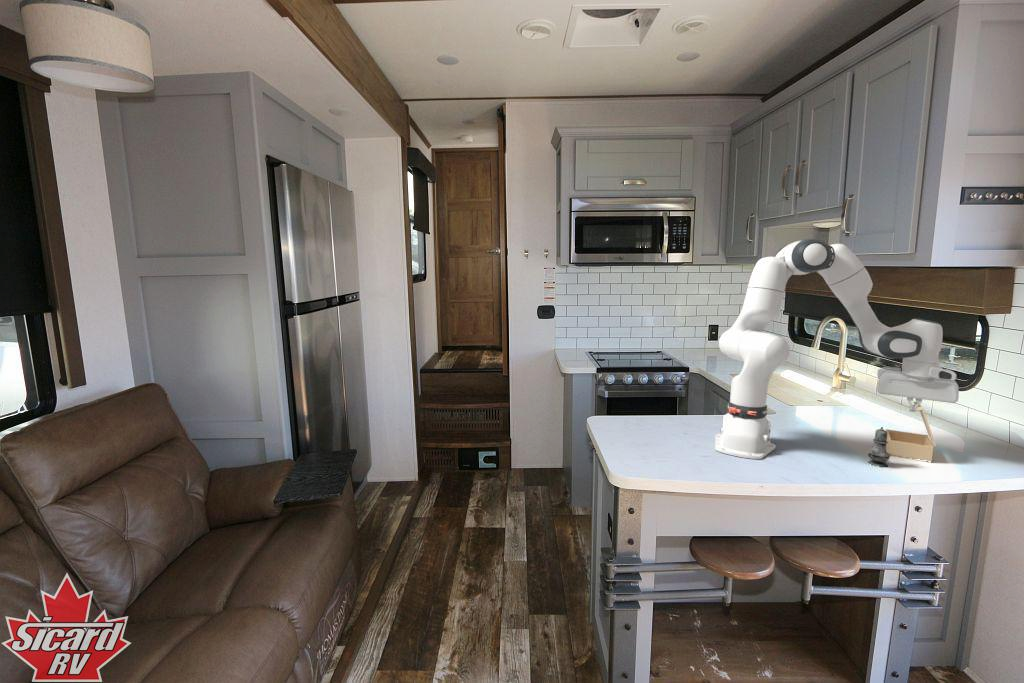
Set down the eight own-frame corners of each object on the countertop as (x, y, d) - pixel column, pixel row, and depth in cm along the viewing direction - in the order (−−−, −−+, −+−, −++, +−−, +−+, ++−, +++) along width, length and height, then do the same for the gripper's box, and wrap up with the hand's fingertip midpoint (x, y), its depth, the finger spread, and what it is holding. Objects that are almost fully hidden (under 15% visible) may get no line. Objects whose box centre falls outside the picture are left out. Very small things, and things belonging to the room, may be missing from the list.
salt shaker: (884, 469, 145) (889, 430, 143) (862, 462, 150) (866, 425, 148) (893, 465, 148) (897, 427, 146) (870, 459, 153) (875, 422, 151)
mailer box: (931, 462, 150) (933, 446, 150) (887, 454, 157) (888, 439, 156) (925, 449, 162) (927, 434, 161) (884, 442, 168) (885, 428, 167)
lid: (930, 446, 150) (936, 445, 149) (918, 410, 151) (923, 409, 150) (924, 434, 161) (930, 433, 161) (913, 401, 162) (918, 400, 161)
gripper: (879, 366, 157) (873, 407, 159) (963, 375, 146) (956, 419, 148) (878, 363, 162) (872, 403, 165) (959, 372, 151) (952, 414, 153)
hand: (912, 411), depth 156 cm, fingers closed, pressing on lid
